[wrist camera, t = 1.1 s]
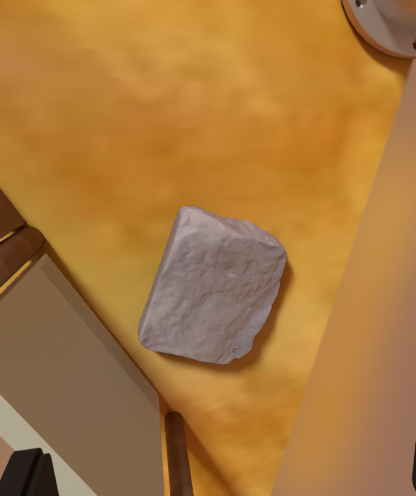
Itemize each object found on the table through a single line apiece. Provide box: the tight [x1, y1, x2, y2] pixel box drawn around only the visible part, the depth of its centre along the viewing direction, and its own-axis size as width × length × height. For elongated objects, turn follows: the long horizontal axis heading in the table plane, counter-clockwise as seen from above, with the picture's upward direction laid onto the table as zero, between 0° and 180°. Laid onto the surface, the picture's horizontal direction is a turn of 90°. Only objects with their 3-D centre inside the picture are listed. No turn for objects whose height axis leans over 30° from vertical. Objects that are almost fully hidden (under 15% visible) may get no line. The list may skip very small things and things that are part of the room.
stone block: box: [138, 206, 287, 364], centre depth 31 cm, size 12×5×10 cm
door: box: [0, 253, 165, 496], centre depth 24 cm, size 15×1×14 cm, turn 32°
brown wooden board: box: [0, 190, 194, 496], centre depth 24 cm, size 2×28×16 cm, turn 32°
